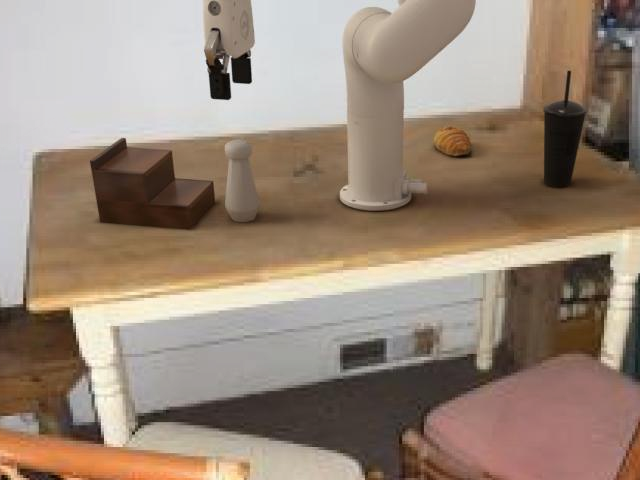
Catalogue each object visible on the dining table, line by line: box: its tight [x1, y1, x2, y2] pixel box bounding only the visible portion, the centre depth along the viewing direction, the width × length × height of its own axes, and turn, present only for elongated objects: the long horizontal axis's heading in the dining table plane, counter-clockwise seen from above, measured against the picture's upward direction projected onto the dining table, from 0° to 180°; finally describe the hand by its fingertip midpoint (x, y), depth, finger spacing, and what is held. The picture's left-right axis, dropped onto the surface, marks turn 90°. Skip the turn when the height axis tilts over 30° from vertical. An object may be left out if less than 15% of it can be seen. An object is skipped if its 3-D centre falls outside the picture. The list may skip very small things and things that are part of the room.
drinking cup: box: [542, 70, 588, 188], centre depth 165 cm, size 8×8×20 cm
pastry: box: [433, 125, 472, 157], centre depth 185 cm, size 9×7×4 cm
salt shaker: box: [224, 139, 261, 223], centre depth 153 cm, size 6×6×13 cm
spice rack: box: [89, 137, 216, 230], centre depth 156 cm, size 16×12×11 cm
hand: (232, 90), depth 147 cm, fingers open, 9 cm apart
